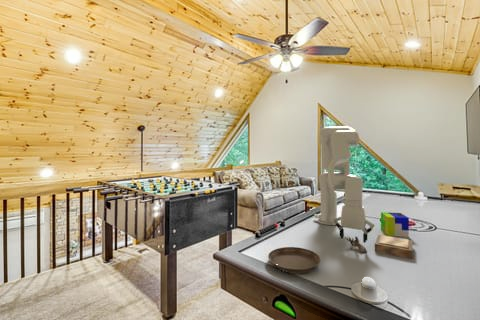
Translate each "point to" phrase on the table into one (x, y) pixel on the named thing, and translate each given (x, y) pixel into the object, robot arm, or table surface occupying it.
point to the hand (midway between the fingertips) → (353, 239)
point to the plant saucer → (294, 259)
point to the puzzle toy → (394, 224)
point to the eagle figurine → (356, 243)
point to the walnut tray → (394, 246)
